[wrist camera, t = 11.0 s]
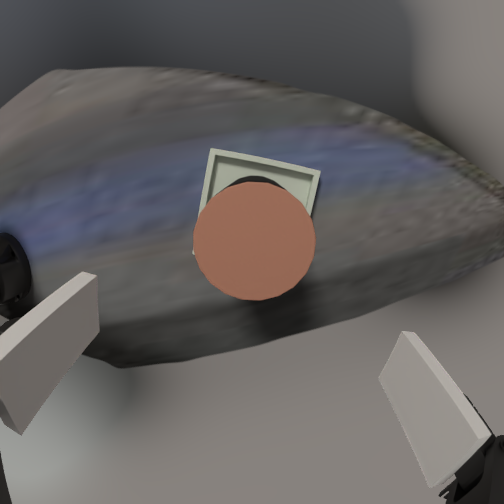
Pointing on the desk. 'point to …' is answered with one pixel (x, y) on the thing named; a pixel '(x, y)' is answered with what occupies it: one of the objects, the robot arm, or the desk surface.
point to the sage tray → (241, 165)
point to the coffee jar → (254, 239)
